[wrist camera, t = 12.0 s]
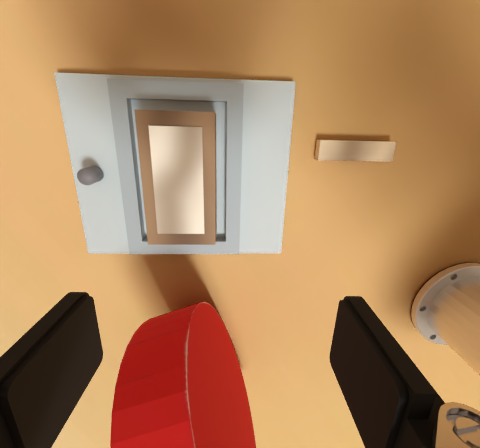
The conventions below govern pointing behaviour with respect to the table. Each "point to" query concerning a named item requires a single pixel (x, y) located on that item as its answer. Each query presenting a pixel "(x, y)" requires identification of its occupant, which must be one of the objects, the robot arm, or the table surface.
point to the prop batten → (354, 150)
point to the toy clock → (181, 386)
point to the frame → (178, 176)
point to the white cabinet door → (227, 156)
